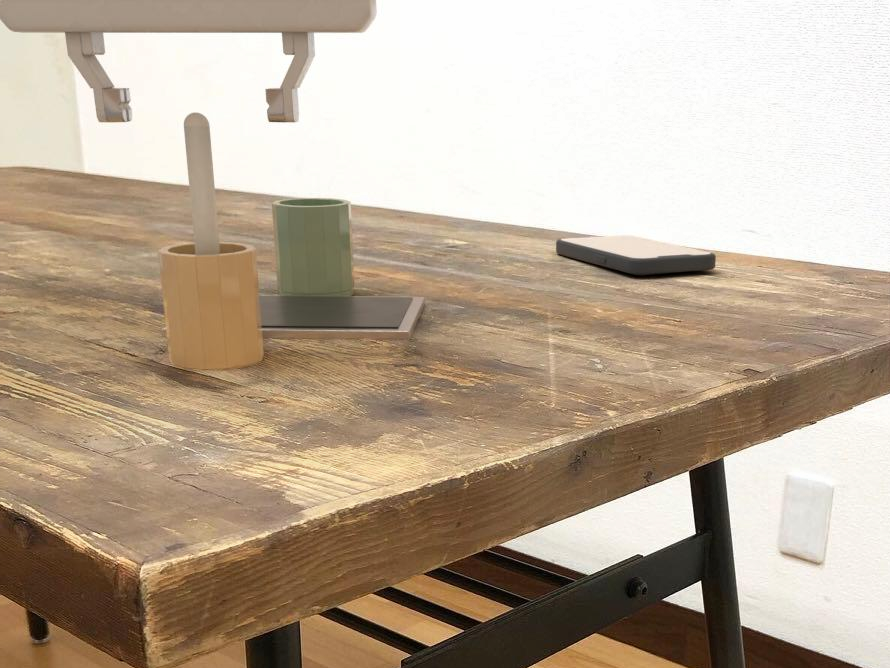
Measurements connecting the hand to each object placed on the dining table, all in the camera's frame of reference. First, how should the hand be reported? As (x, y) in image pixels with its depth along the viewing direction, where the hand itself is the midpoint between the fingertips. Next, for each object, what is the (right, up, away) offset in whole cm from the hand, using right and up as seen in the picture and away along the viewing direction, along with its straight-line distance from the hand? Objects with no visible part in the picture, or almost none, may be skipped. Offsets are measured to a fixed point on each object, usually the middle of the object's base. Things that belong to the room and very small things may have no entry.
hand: (199, 122), depth 69 cm
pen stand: (0, -13, +5) cm, 14 cm away
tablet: (+3, -9, +16) cm, 19 cm away
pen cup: (+2, -4, +27) cm, 28 cm away
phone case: (+28, +2, +44) cm, 52 cm away
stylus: (0, -12, +5) cm, 14 cm away
